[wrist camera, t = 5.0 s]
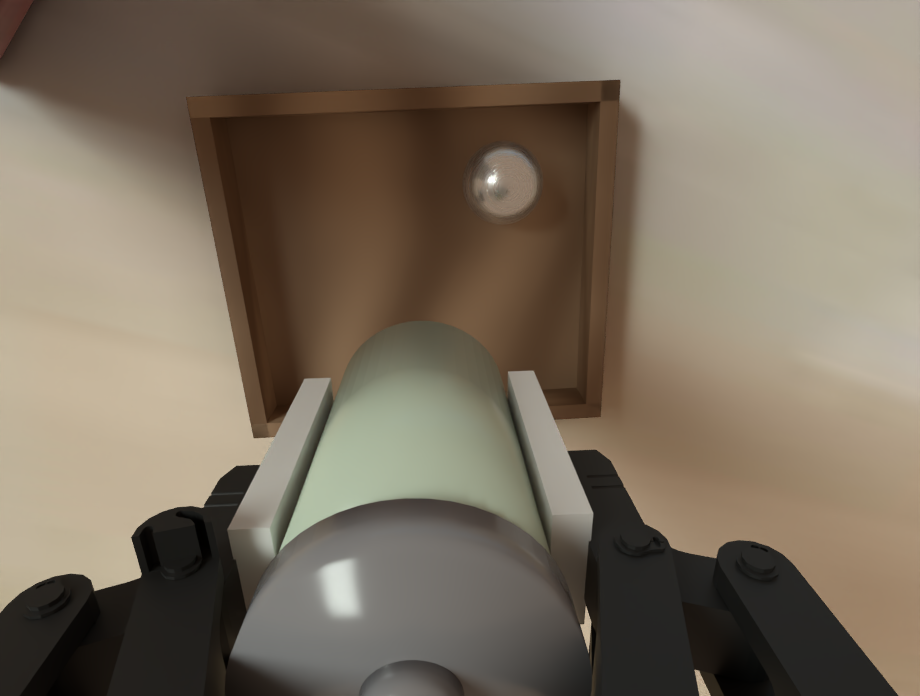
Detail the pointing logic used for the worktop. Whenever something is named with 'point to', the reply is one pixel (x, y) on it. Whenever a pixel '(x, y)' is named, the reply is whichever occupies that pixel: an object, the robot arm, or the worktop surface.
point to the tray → (409, 230)
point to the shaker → (414, 544)
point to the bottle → (11, 20)
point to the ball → (502, 182)
